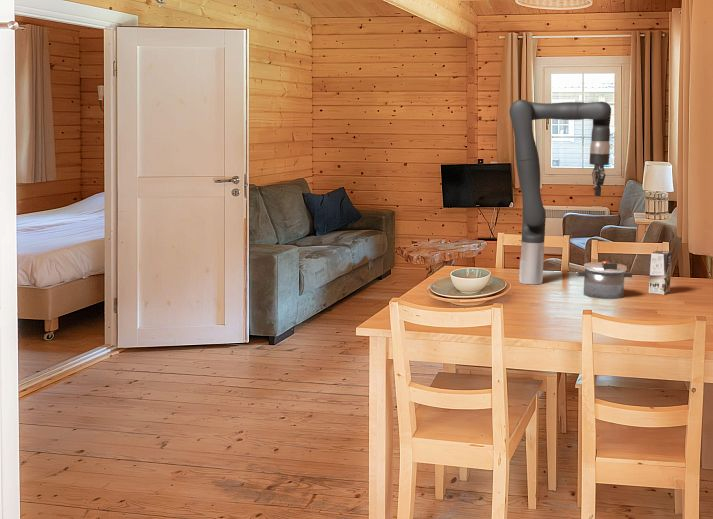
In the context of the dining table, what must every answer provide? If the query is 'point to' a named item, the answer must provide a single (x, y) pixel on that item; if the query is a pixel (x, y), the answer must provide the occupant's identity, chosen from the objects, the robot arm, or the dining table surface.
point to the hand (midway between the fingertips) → (597, 195)
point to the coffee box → (660, 272)
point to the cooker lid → (605, 267)
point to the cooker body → (603, 284)
